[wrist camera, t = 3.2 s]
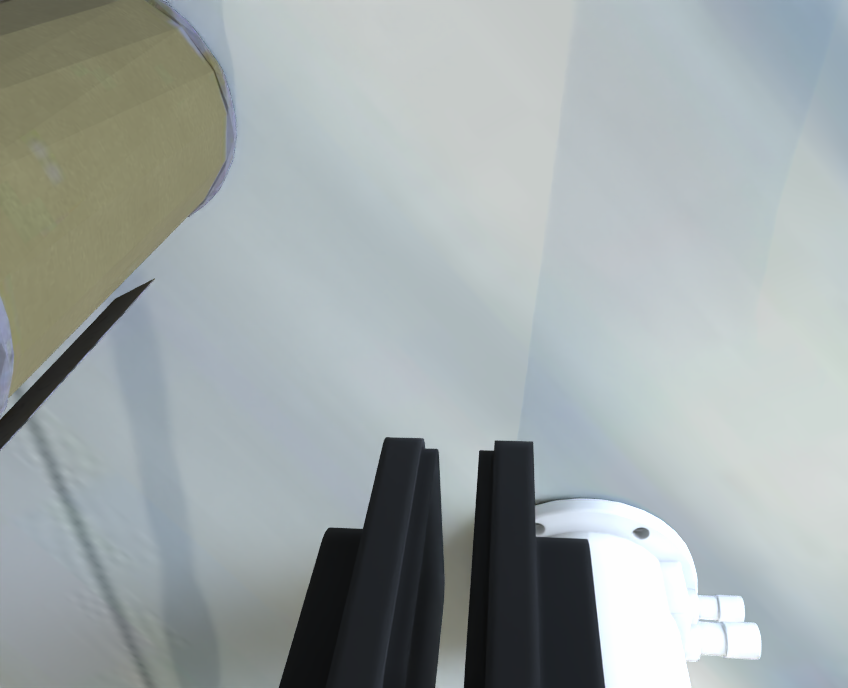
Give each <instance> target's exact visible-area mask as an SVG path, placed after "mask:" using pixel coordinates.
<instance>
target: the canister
mask: <svg viewBox="0 0 848 688" xmlns="http://www.w3.org/2000/svg"><path fill="white" fill-rule="evenodd" d="M236 138H237V133H236V117H235V112H234V107H233V103H232V98H231V94H230V90H229V87H228V84H227V81H226V78H225V75H224V72H223V70H222V68H221V67H220V65H219V64H218V62H217V61H216V59H215V57H214V56H213V55H212V53H211V52H210V50H209V49H208V47H207V46H206V45H205V43H204V42H203V40H202V39H201V37H200V36H199V34H198V33H197V32H196V31H195V29H194V28H193V27H192V26H191V25H190V23H189V22H188V21H187V20H186V19H185V18H183V17H182V16H181V15H180V14H179V13H178V12H177V11H175V10H174V9H173V8H172V7H171V6H170V5H168V4H167V3H166V2H165V1H163V0H0V416H1V415H2V413H3V412H4V410H5V409H6V407H7V401H8V398H9V397H10V396H11V395H12V394H13V393H14V392H15V391H16V390H17V389H18V388H19V387H20V386H21V385H22V384H23V383H24V382H25V381H26V380H27V379H28V378H29V377H30V376H31V375H32V374H33V373H34V372H35V371H36V370H37V369H38V368H39V367H40V366H41V365H42V364H43V363H44V362H45V361H46V360H47V359H48V358H49V357H50V356H51V355H52V354H53V353H54V351H55V350H56V349H57V348H58V347H59V346H60V345H61V344H62V343H63V342H64V341H65V340H66V339H67V338H68V337H69V336H70V335H71V334H72V333H73V332H74V331H75V330H76V329H77V328H78V327H79V326H80V325H81V324H82V323H83V322H84V321H85V320H86V319H87V318H88V317H89V316H90V315H91V314H92V313H93V312H94V311H95V310H96V309H97V308H98V307H99V306H100V305H101V304H102V303H103V302H104V301H105V300H106V299H107V298H108V297H109V296H110V295H111V294H112V293H113V292H114V291H115V290H116V289H117V288H118V287H119V286H120V285H121V284H122V283H123V282H124V280H125V279H126V278H127V277H128V276H129V275H130V274H131V273H132V272H133V271H134V270H135V269H136V268H137V267H138V266H139V265H140V264H141V263H142V262H143V261H144V260H145V259H146V258H147V257H148V256H149V255H150V254H151V253H152V252H153V251H154V250H155V249H156V248H157V247H158V246H159V245H160V244H161V243H162V242H163V241H164V240H165V239H166V238H167V237H168V236H169V235H170V234H171V233H172V232H173V231H174V230H175V229H176V228H177V227H178V226H179V225H180V224H181V223H182V222H183V221H184V220H185V219H186V218H187V217H189V216H191V215H192V214H194V213H195V212H196V211H198V210H199V209H201V208H202V207H203V206H205V205H206V204H207V203H208V202H209V201H210V200H211V199H212V198H213V197H214V195H215V194H216V193H217V192H218V190H219V189H220V188H221V186H222V184H223V182H224V180H225V178H226V175H227V173H228V171H229V169H230V167H231V164H232V162H233V158H234V151H235V144H236ZM154 280H155V279H153V280H151V281H149V282H147V283H145V284H143V285H141V286H139V287H137V288H135V289H133V290H131V291H130V292H128V293H126V294H124V295H122V296H120V297H118V298H116V299H115V300H114V301H113V302H112V303H111V304H110V305H109V306H108V307H107V308H106V309H105V310H104V311H103V312H102V313H101V314H100V315H99V316H98V318H97V319H96V320H95V321H94V322H93V323H92V324H91V325H90V326H89V327H88V328H87V329H86V330H85V331H84V332H83V333H82V334H81V335H80V336H79V337H78V339H77V340H76V341H75V342H74V343H73V344H72V345H71V346H70V347H69V348H68V349H67V350H66V351H65V352H64V353H63V354H62V355H61V356H60V357H59V358H58V360H57V361H56V362H55V363H54V364H53V365H52V366H51V367H50V368H49V369H48V370H47V371H46V372H45V373H44V374H43V375H42V376H41V377H40V378H39V380H38V381H37V382H36V383H35V384H34V385H33V386H32V387H31V388H30V389H29V390H28V391H27V392H26V393H25V394H24V395H23V396H22V397H21V398H20V399H19V401H18V402H17V403H16V404H15V405H14V406H13V407H12V408H11V409H10V410H9V411H8V412H7V413H6V414H5V415H4V416H3V417H2V418H1V419H0V451H1V450H2V449H3V447H4V446H5V445H6V444H7V443H8V442H9V441H10V440H11V439H12V437H13V436H14V435H15V434H16V433H17V432H18V431H19V430H20V429H21V427H22V426H23V425H24V424H25V423H26V422H27V421H28V420H29V419H30V417H31V416H32V415H33V414H34V413H35V412H36V411H37V410H38V409H39V407H40V406H41V405H42V404H43V403H44V402H45V401H46V400H47V399H48V397H49V396H50V395H51V394H52V393H53V392H54V391H55V390H56V389H57V387H58V386H59V385H60V384H61V383H62V382H63V381H64V380H65V379H66V377H67V376H68V375H69V374H70V373H71V372H72V371H73V370H74V369H75V367H76V366H77V365H78V364H79V363H80V362H81V361H82V360H83V359H84V357H85V356H86V355H87V354H88V353H89V352H90V351H91V350H92V349H93V347H94V346H95V345H96V344H97V343H98V342H99V341H100V340H101V339H102V337H103V336H104V335H105V334H106V333H107V332H108V331H109V330H110V329H111V327H112V326H113V325H114V324H115V323H116V322H117V321H118V320H119V319H120V317H121V316H122V315H123V314H124V313H125V312H126V311H127V310H128V309H129V307H130V306H131V305H132V304H133V303H134V302H135V301H136V300H137V299H138V297H139V296H140V295H141V294H142V293H143V292H144V291H145V290H146V289H147V287H148V286H149V285H150V284H151V283H152V282H153V281H154Z"/></svg>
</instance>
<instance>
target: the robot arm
mask: <svg viewBox="0 0 848 688" xmlns="http://www.w3.org/2000/svg"><path fill="white" fill-rule="evenodd" d="M444 586H445V579H444V556H443V534H442V513H441V491H440V470H439V452H438V449H425V442H424V439H423V438H390V437H386V438H385V440H384V443H383V447H382V451H381V455H380V459H379V464H378V468H377V472H376V476H375V480H374V485H373V489H372V493H371V497H370V502H369V506H368V510H367V514H366V519H365V523H364V527H363V529H350V528H328V529H327V531H326V532H325V534H324V537H323V539H322V542H321V546H320V549H319V553H318V556H317V559H316V563H315V566H314V570H313V573H312V576H311V580H310V583H309V587H308V590H307V593H306V597H305V600H304V604H303V607H302V610H301V614H300V617H299V621H298V624H297V627H296V631H295V634H294V638H293V641H292V645H291V648H290V651H289V655H288V658H287V662H286V665H285V668H284V672H283V675H282V679H281V682H280V685H279V688H435V684H436V674H437V664H438V654H439V644H440V634H441V624H442V614H443V604H444ZM744 617H745V608H744V602H743V599H742V597H741V596H734V595H715V596H709V595H697V575H696V571H695V567H694V563H693V559H692V557H691V554H690V552H689V550H688V548H687V546H686V544H685V543H684V542H683V540H682V539H681V538H680V537H679V535H678V534H677V533H676V532H675V531H674V530H673V529H672V528H670V527H669V526H668V525H667V524H665V523H664V522H663V521H662V520H660V519H659V518H657V517H655V516H653V515H651V514H649V513H647V512H645V511H644V510H641V509H638V508H635V507H632V506H629V505H626V504H624V503H619V502H614V501H608V500H602V499H584V498H575V499H565V500H555V501H551V502H547V503H543V504H539V505H535V489H534V454H533V442H525V441H495V446H494V451H483V450H480V451H479V463H478V479H477V494H476V509H475V524H474V540H473V555H472V570H471V585H470V601H469V616H468V631H467V646H466V662H465V678H464V688H691V685H690V680H689V675H688V671H687V666H686V661H693V662H697V661H699V659H700V656H701V655H712V656H723V658H737V659H753V660H759V658H760V656H761V637H760V632H759V629H758V627H757V624H755V623H754V622H743V621H744ZM699 619H706V620H716V621H719V622H701V621H698V620H699Z"/></svg>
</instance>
